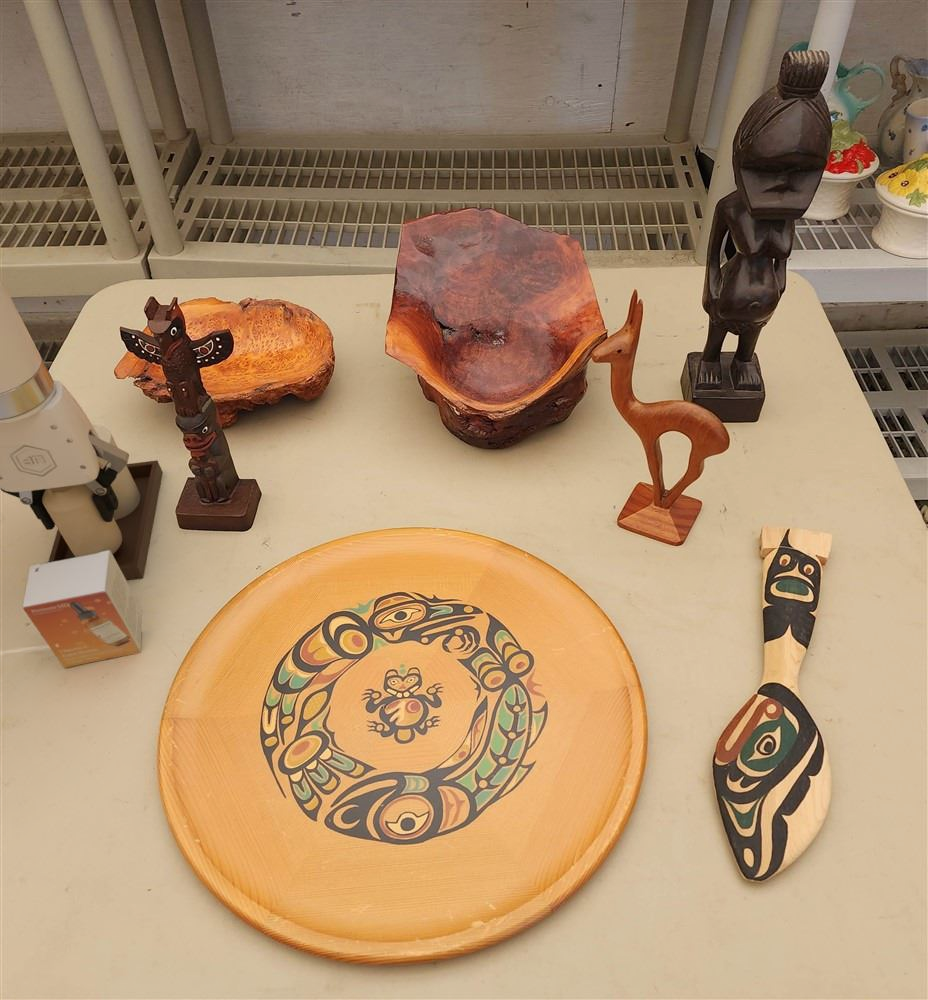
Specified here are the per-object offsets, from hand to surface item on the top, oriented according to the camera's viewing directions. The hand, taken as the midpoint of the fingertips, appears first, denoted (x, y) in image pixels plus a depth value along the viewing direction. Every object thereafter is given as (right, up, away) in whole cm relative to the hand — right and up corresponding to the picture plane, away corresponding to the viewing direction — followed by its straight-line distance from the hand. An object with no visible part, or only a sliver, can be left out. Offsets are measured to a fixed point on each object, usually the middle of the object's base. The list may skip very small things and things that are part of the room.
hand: (81, 515), depth 94 cm
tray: (0, -2, +8) cm, 8 cm away
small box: (+4, -13, -3) cm, 14 cm away
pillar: (0, +1, +10) cm, 10 cm away
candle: (0, -3, +4) cm, 5 cm away
